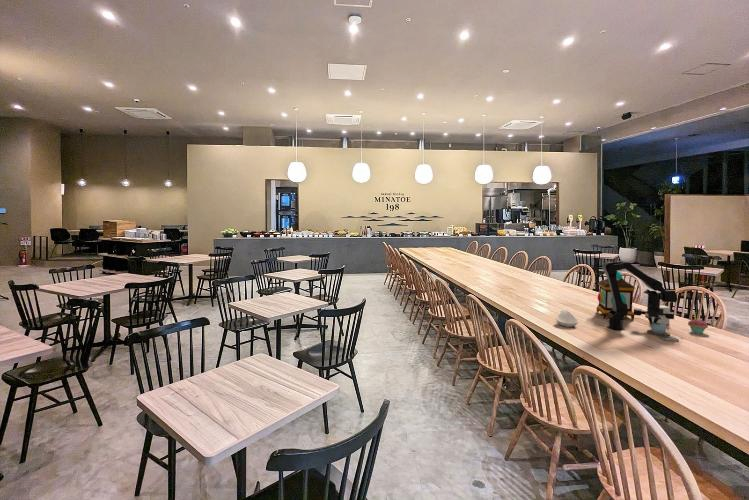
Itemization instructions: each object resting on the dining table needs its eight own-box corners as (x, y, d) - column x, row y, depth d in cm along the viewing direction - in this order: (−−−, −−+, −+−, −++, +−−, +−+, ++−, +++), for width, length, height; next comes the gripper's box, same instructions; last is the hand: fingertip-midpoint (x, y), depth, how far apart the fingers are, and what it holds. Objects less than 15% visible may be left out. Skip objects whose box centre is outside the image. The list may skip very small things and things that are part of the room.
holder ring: (659, 337, 209) (659, 335, 209) (642, 331, 219) (642, 330, 219) (674, 335, 211) (674, 334, 211) (657, 330, 221) (657, 329, 221)
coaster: (670, 342, 200) (670, 341, 200) (654, 337, 209) (654, 336, 208) (683, 341, 202) (683, 340, 202) (667, 336, 210) (667, 335, 210)
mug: (664, 336, 210) (664, 326, 210) (649, 334, 215) (650, 324, 215) (668, 332, 218) (669, 322, 217) (654, 329, 223) (655, 320, 222)
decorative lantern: (601, 319, 246) (603, 272, 244) (593, 311, 265) (595, 268, 263) (637, 321, 241) (639, 273, 238) (627, 313, 260) (628, 269, 257)
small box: (663, 322, 238) (664, 305, 237) (669, 324, 232) (670, 307, 231) (649, 321, 238) (650, 305, 238) (655, 324, 233) (656, 307, 232)
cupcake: (689, 333, 215) (690, 312, 214) (685, 329, 222) (687, 308, 221) (709, 335, 211) (710, 313, 210) (705, 331, 218) (706, 310, 217)
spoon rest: (579, 329, 226) (579, 317, 225) (557, 327, 230) (557, 316, 229) (573, 319, 248) (573, 308, 248) (552, 317, 252) (553, 307, 251)
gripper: (633, 302, 218) (632, 329, 220) (675, 306, 208) (674, 334, 209) (634, 298, 228) (633, 324, 229) (674, 302, 217) (672, 329, 218)
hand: (652, 328), depth 221 cm, fingers closed
